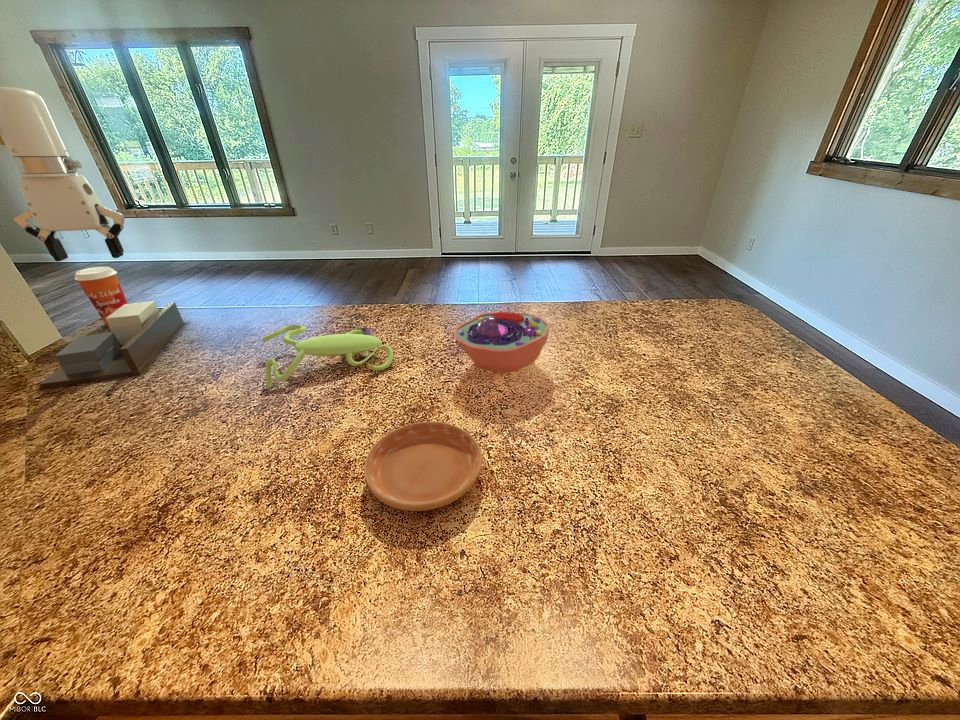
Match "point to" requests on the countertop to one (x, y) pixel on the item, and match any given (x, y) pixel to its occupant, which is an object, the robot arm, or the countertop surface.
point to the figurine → (328, 348)
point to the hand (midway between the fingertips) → (90, 258)
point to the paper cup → (102, 289)
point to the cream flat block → (132, 314)
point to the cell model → (502, 340)
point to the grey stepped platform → (129, 351)
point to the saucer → (423, 466)
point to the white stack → (129, 330)
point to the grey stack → (89, 353)
